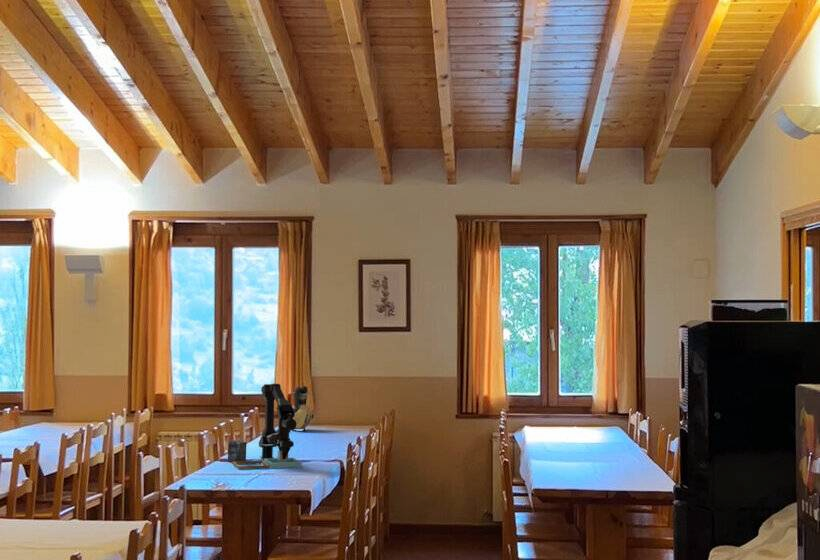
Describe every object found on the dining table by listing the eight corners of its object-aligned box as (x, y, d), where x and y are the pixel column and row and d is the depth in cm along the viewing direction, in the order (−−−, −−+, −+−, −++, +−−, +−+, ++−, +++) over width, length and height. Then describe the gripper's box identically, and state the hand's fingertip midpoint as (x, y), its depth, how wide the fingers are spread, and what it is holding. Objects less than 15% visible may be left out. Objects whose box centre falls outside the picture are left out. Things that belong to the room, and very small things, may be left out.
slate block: (277, 460, 449) (277, 450, 449) (285, 460, 450) (286, 450, 450) (279, 461, 444) (279, 451, 445) (288, 461, 446) (288, 451, 446)
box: (227, 461, 453) (228, 441, 454) (234, 460, 458) (235, 440, 459) (238, 463, 449) (239, 442, 450) (246, 462, 454) (246, 441, 455)
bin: (264, 463, 451) (264, 458, 452) (293, 462, 457) (293, 457, 457) (271, 468, 437) (271, 463, 437) (301, 467, 443) (301, 462, 443)
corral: (232, 464, 445) (232, 461, 445) (262, 463, 451) (262, 460, 451) (238, 469, 431) (238, 466, 431) (269, 468, 437) (269, 465, 437)
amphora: (306, 433, 579) (308, 387, 581) (282, 431, 582) (284, 386, 584) (314, 430, 597) (316, 386, 598) (290, 428, 600) (292, 385, 601)
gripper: (264, 425, 454) (263, 456, 453) (272, 430, 436) (271, 461, 436) (285, 425, 458) (284, 455, 457) (294, 430, 441) (293, 461, 440)
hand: (282, 458), depth 447 cm, fingers closed on slate block, 4 cm apart
